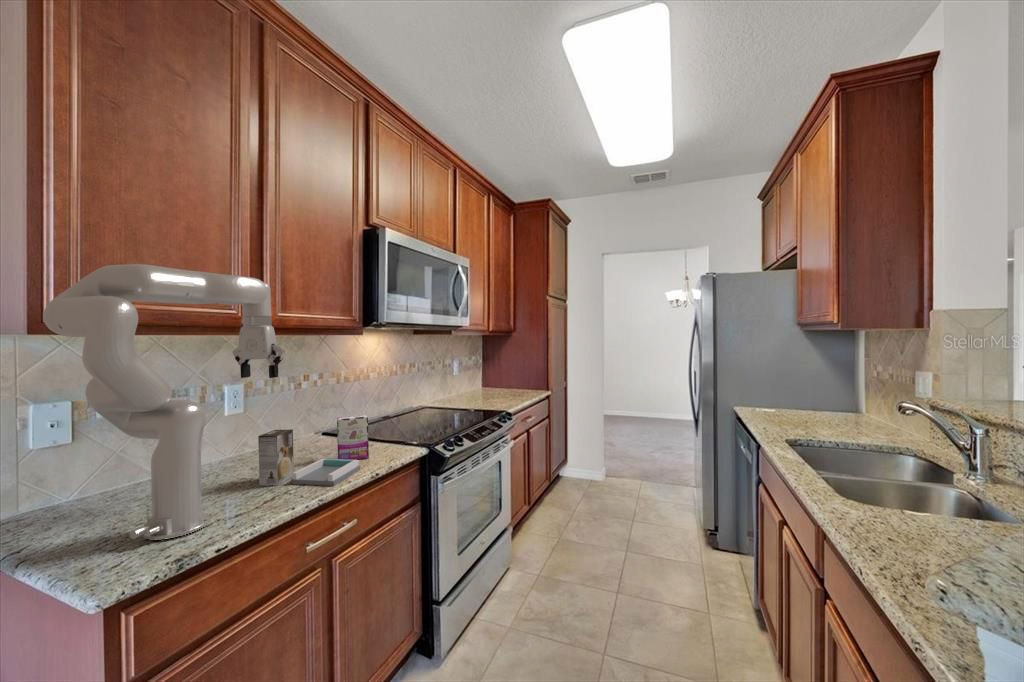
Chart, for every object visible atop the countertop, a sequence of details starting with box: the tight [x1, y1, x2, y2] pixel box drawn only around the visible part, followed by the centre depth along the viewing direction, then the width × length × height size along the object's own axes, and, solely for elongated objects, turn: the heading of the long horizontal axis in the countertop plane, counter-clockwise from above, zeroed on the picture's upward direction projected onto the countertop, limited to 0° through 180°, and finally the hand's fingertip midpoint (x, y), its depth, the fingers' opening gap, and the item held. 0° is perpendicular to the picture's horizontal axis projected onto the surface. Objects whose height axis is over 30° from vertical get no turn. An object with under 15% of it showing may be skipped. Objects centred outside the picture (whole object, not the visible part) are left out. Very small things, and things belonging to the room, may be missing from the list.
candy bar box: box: [336, 414, 370, 460], centre depth 157 cm, size 11×5×16 cm, turn 115°
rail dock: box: [290, 458, 361, 487], centre depth 137 cm, size 16×15×4 cm
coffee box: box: [257, 428, 295, 487], centre depth 134 cm, size 9×6×16 cm
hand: (259, 377), depth 127 cm, fingers open, 9 cm apart
